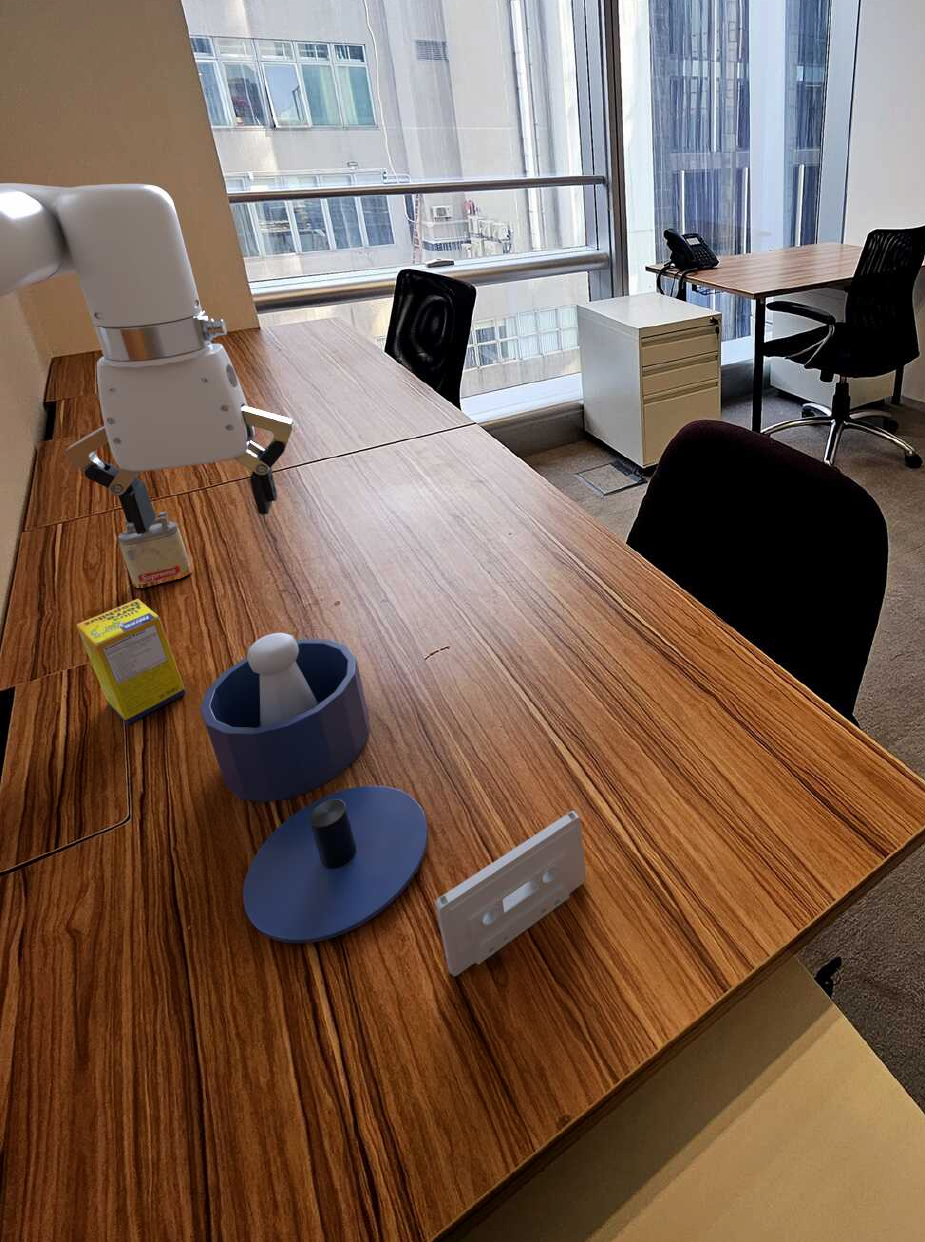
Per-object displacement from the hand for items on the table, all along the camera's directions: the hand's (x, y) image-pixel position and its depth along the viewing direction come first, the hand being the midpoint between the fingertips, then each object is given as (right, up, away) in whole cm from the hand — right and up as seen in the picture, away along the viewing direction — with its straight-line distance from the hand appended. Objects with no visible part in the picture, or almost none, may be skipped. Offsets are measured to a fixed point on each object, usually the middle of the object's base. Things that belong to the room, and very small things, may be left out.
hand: (207, 517), depth 69 cm
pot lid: (+14, -29, -4) cm, 33 cm away
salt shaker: (+4, -25, +8) cm, 26 cm away
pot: (+4, -25, +8) cm, 27 cm away
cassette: (+31, -32, -9) cm, 46 cm away
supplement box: (-17, -23, +15) cm, 32 cm away
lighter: (-31, -14, +38) cm, 51 cm away
